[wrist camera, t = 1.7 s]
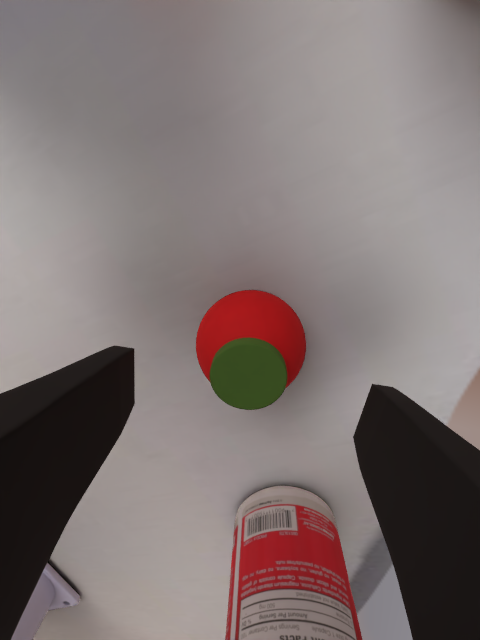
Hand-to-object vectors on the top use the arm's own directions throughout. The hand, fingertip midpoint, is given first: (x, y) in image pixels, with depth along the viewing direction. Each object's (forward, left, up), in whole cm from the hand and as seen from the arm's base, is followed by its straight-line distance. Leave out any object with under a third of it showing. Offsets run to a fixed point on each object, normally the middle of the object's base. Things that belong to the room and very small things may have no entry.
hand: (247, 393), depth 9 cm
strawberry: (0, 0, -6) cm, 6 cm away
